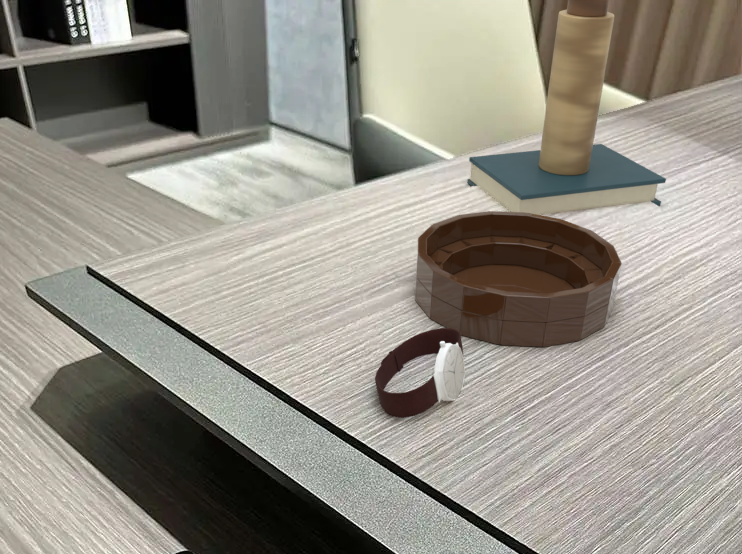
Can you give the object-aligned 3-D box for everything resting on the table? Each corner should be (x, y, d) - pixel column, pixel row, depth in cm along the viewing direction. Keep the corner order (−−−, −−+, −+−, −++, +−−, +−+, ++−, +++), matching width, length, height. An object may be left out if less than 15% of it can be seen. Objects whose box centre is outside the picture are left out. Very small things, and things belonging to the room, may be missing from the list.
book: (597, 168, 80) (601, 143, 79) (660, 205, 72) (666, 178, 71) (466, 182, 76) (469, 157, 75) (518, 223, 68) (521, 195, 67)
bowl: (546, 251, 64) (553, 203, 62) (649, 335, 53) (662, 280, 51) (387, 273, 60) (389, 223, 58) (463, 368, 49) (469, 310, 47)
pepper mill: (572, 157, 75) (599, -18, 68) (598, 173, 72) (630, -10, 64) (529, 161, 74) (552, -16, 66) (554, 177, 70) (581, -8, 63)
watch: (433, 439, 43) (438, 382, 41) (354, 414, 45) (355, 359, 43) (480, 368, 49) (486, 315, 47) (408, 348, 51) (411, 297, 49)
